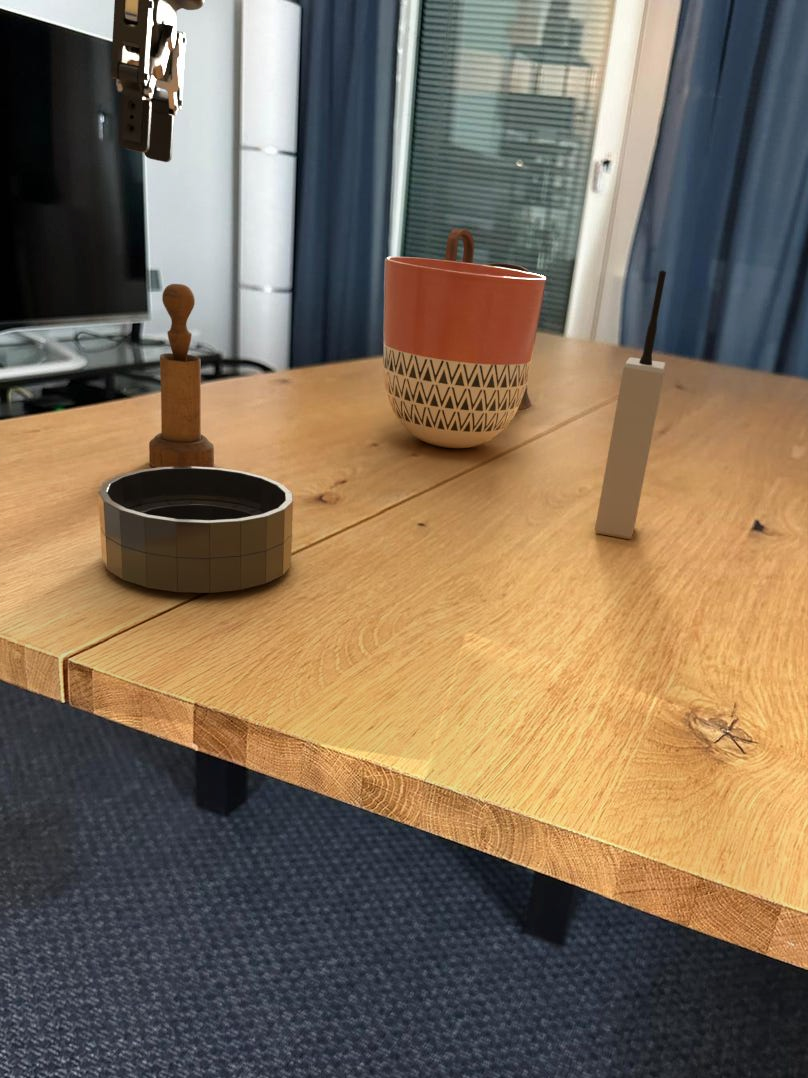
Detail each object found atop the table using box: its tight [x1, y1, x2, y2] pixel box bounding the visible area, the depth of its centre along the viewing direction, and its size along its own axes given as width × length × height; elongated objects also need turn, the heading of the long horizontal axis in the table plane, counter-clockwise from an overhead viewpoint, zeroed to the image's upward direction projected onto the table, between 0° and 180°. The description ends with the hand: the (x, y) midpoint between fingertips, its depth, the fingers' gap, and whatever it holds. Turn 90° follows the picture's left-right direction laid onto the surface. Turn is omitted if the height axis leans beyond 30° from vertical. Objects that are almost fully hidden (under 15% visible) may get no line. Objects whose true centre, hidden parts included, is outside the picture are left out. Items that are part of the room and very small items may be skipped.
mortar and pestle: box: [148, 283, 215, 468], centre depth 94 cm, size 7×6×18 cm
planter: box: [382, 256, 547, 449], centre depth 116 cm, size 20×20×21 cm
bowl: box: [97, 466, 294, 594], centre depth 72 cm, size 14×14×6 cm
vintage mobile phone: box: [594, 269, 667, 540], centre depth 89 cm, size 4×5×25 cm
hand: (146, 155), depth 77 cm, fingers open, 8 cm apart
